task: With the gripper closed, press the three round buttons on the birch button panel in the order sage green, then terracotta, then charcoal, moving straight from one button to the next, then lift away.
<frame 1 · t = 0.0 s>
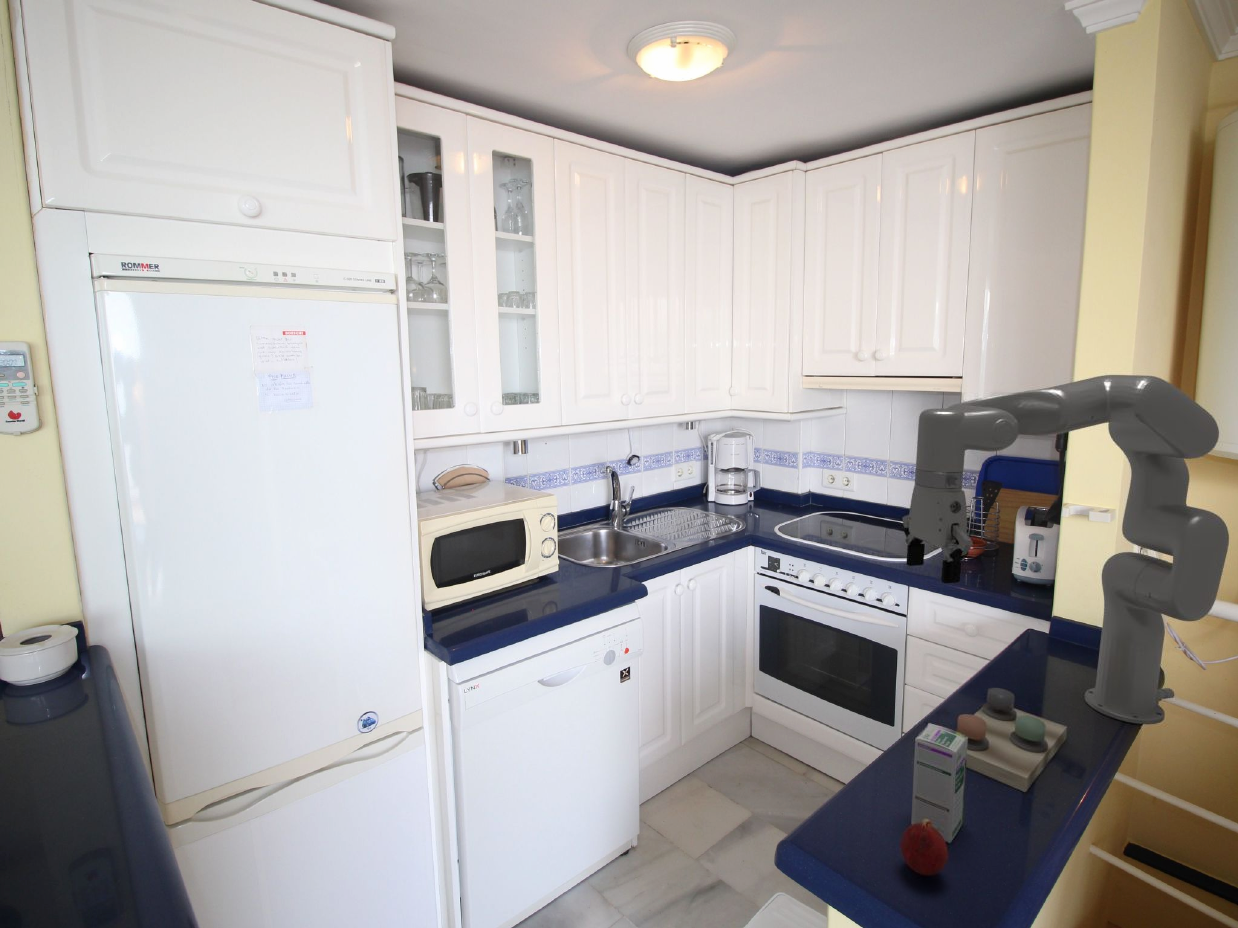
hand: (931, 573, 117), 31 cm above the countertop, tool pointing down, fingers open, 9 cm apart
button panel: (1005, 747, 117), on the countertop
syrup box: (935, 825, 98), on the countertop
terracotta button: (971, 726, 114), point 5 cm above the countertop, slide at 0.0 cm
charcoal button: (1000, 698, 123), point 5 cm above the countertop, slide at 0.0 cm
onion: (922, 874, 89), on the countertop
green button: (1030, 727, 114), point 5 cm above the countertop, slide at 0.0 cm
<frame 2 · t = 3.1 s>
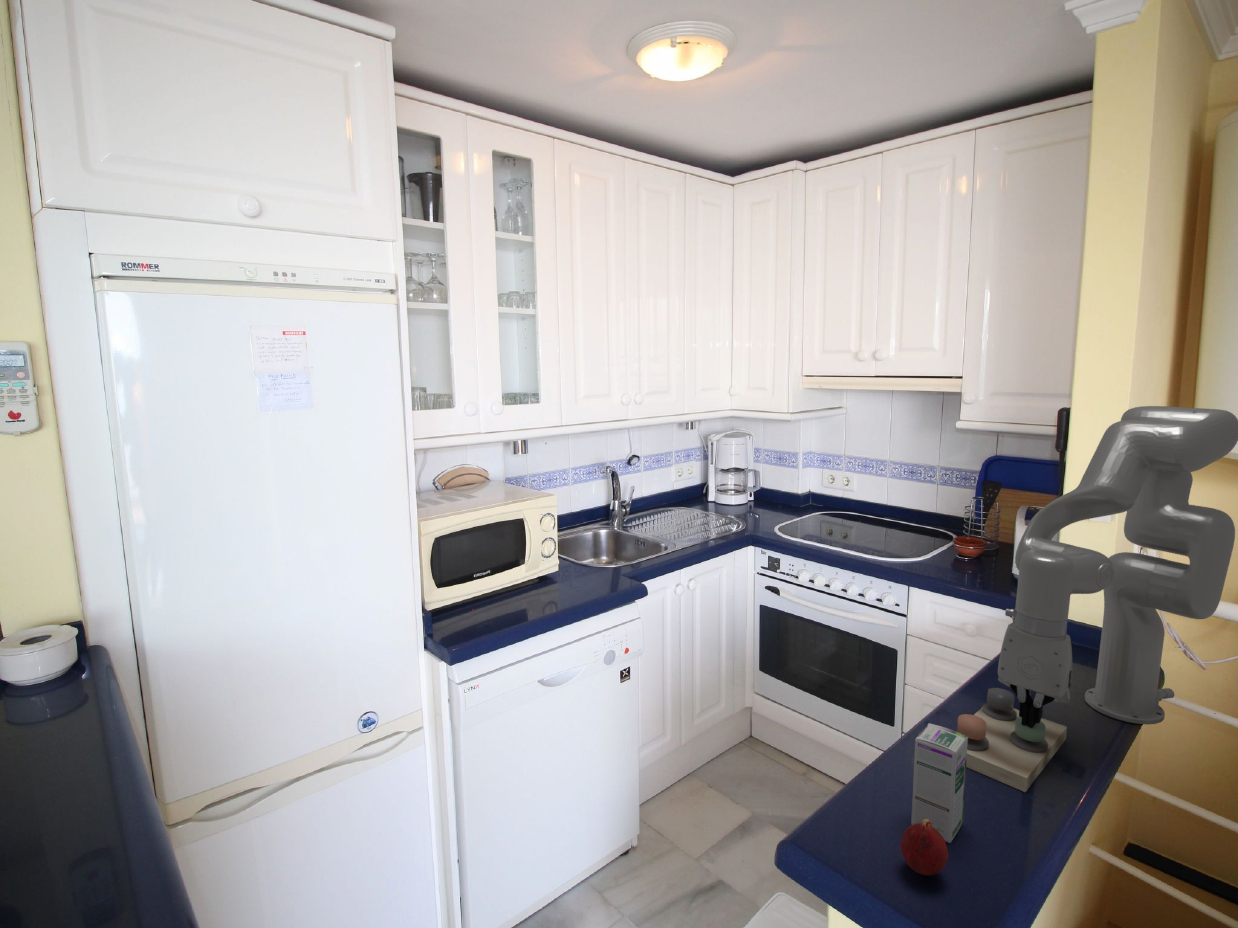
hand: (1029, 723, 113), 6 cm above the countertop, tool pointing down, fingers closed
green button: (1029, 728, 114), point 5 cm above the countertop, slide at 0.2 cm, touching gripper
everything else where it was.
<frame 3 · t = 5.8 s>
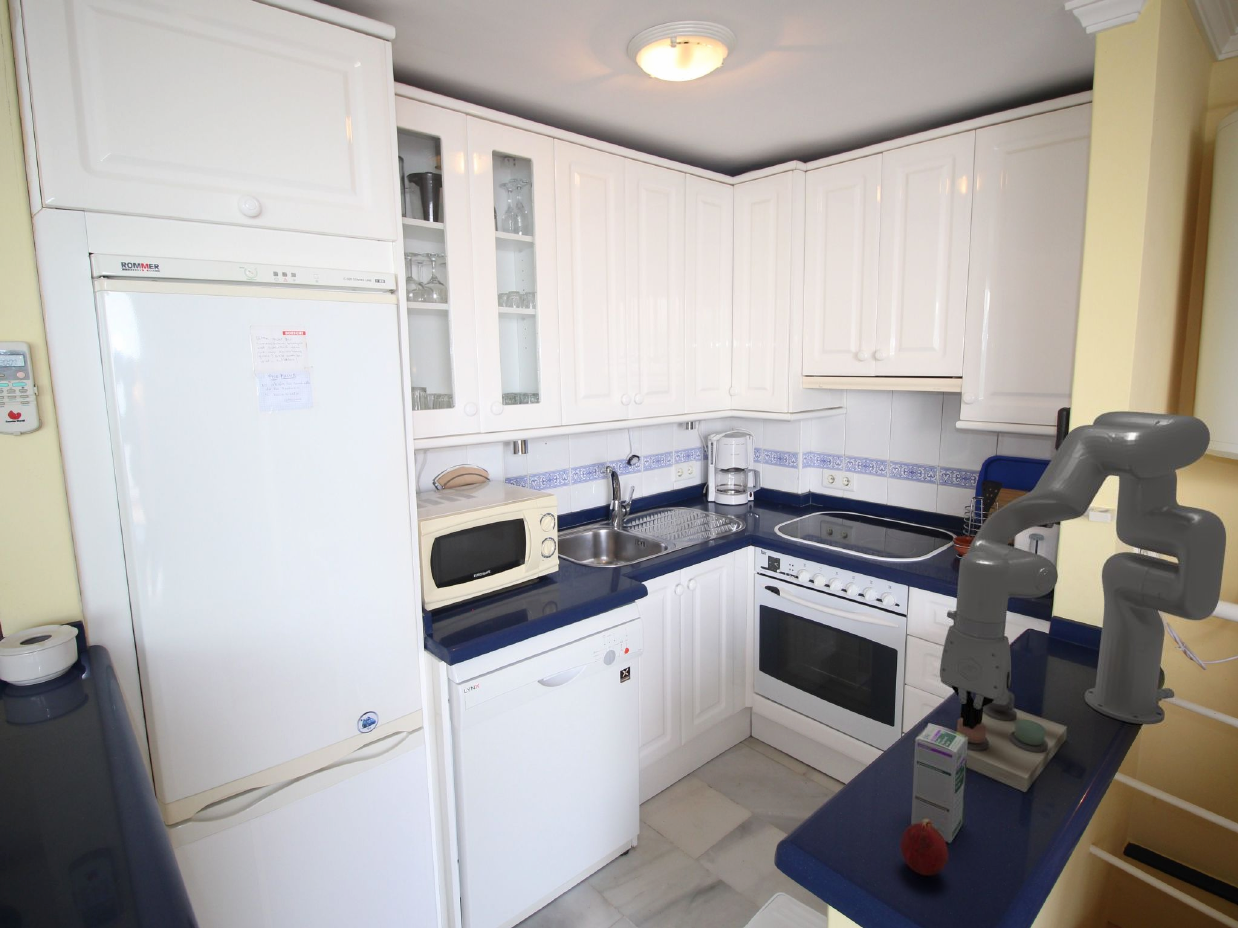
hand: (970, 724, 114), 6 cm above the countertop, tool pointing down, fingers closed
terracotta button: (971, 729, 114), point 5 cm above the countertop, slide at 0.6 cm, touching gripper
green button: (1029, 731, 114), point 5 cm above the countertop, slide at 0.8 cm
everything else where it was.
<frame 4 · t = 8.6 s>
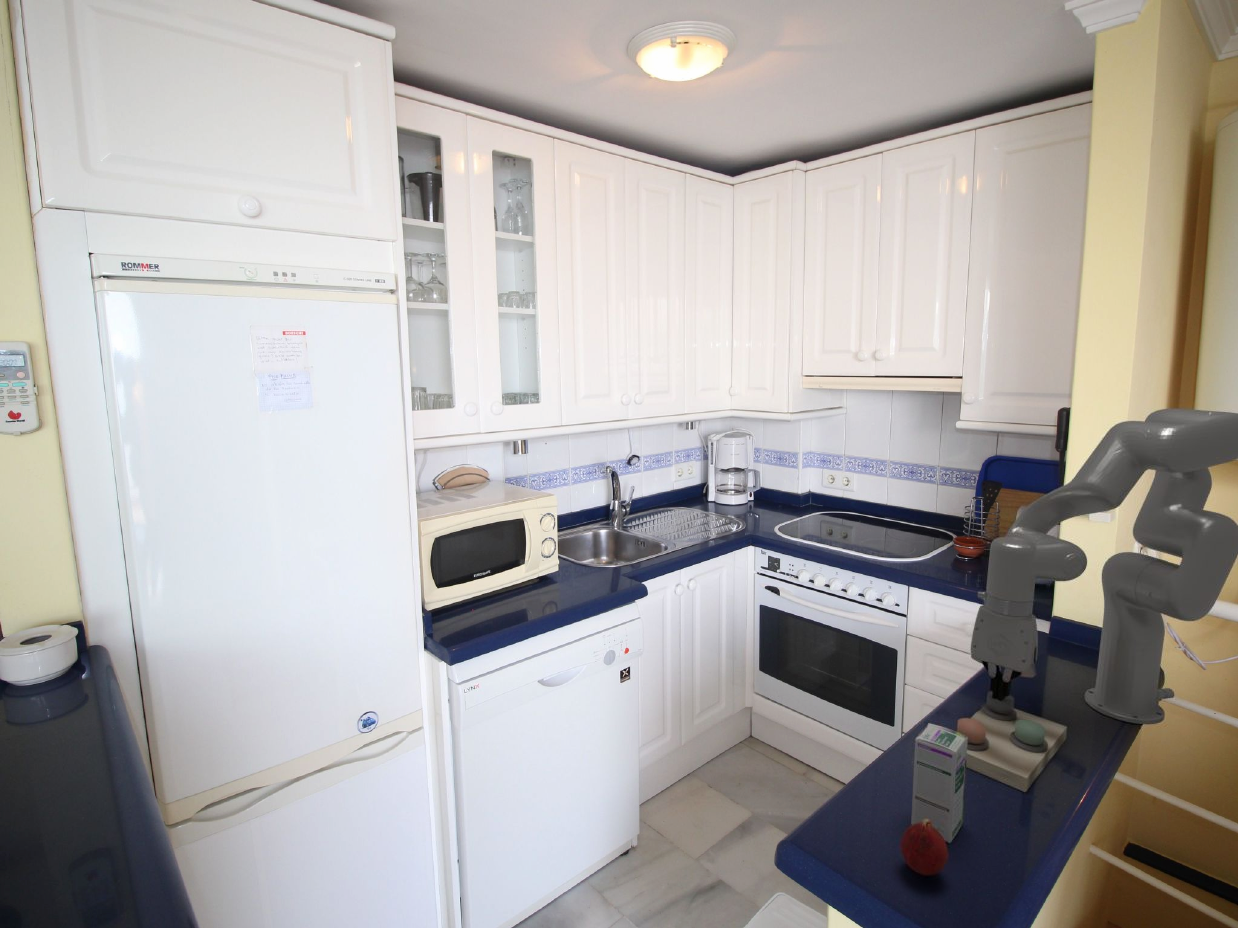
hand: (999, 696, 123), 6 cm above the countertop, tool pointing down, fingers closed
terracotta button: (971, 730, 114), point 5 cm above the countertop, slide at 0.7 cm
charcoal button: (1000, 702, 124), point 5 cm above the countertop, slide at 0.7 cm, touching gripper
everything else where it was.
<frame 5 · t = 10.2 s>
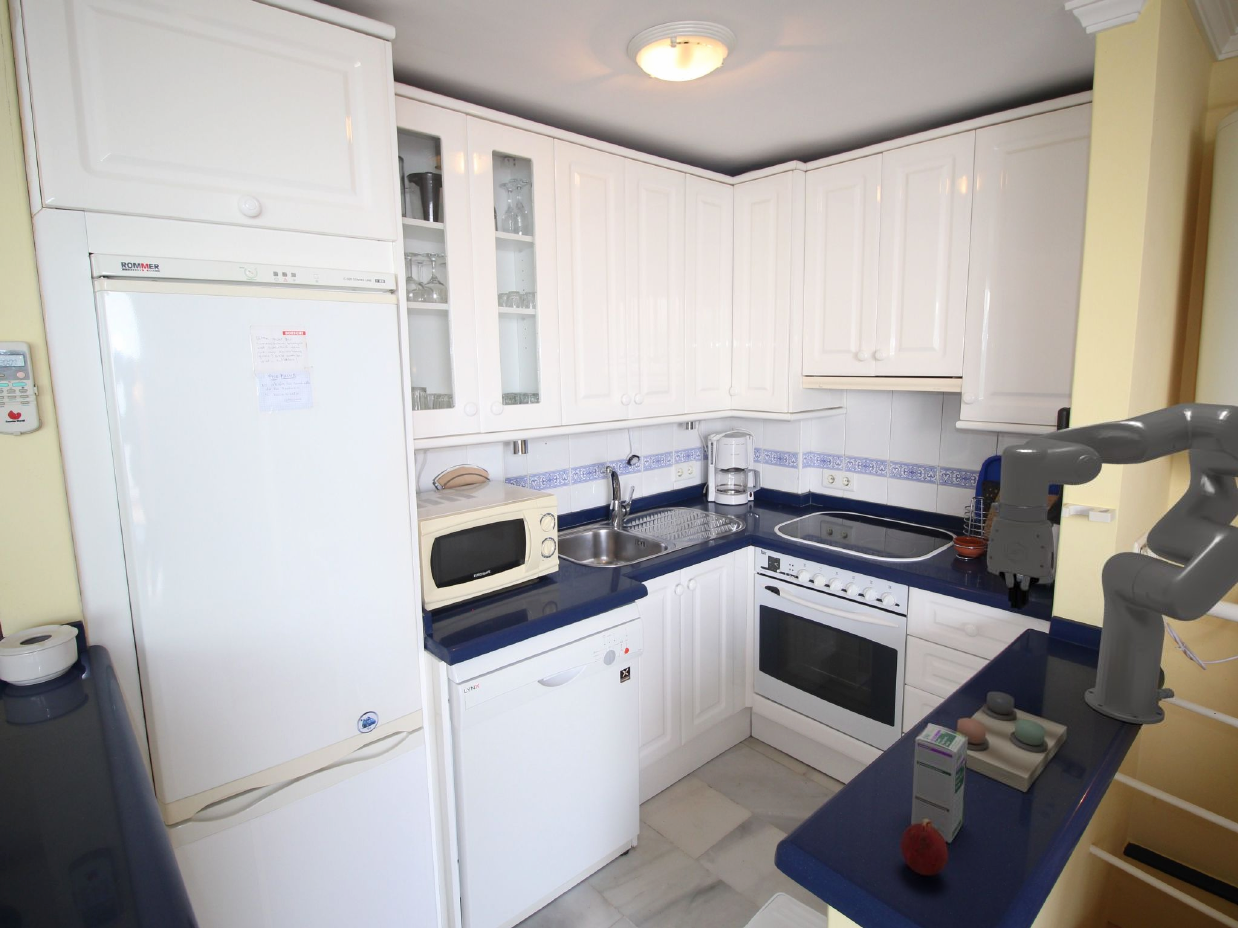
hand: (1018, 606, 123), 23 cm above the countertop, tool pointing down, fingers closed
charcoal button: (1000, 702, 124), point 5 cm above the countertop, slide at 0.8 cm
everything else where it was.
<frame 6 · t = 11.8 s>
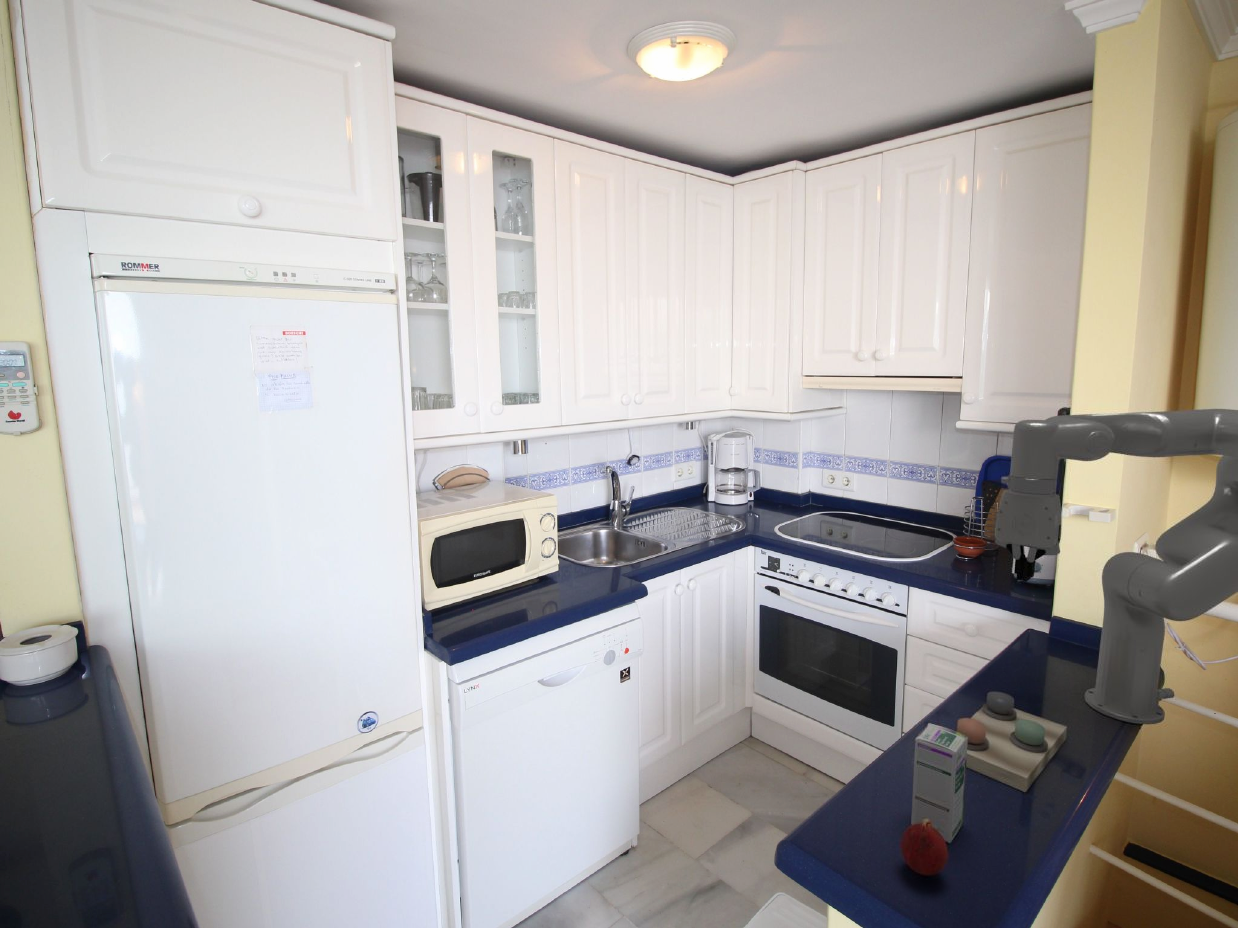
hand: (1023, 579, 126), 27 cm above the countertop, tool pointing down, fingers closed
nothing on the countertop moved.
at the end: green button slide at 0.8 cm; terracotta button slide at 0.7 cm; charcoal button slide at 0.8 cm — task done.
